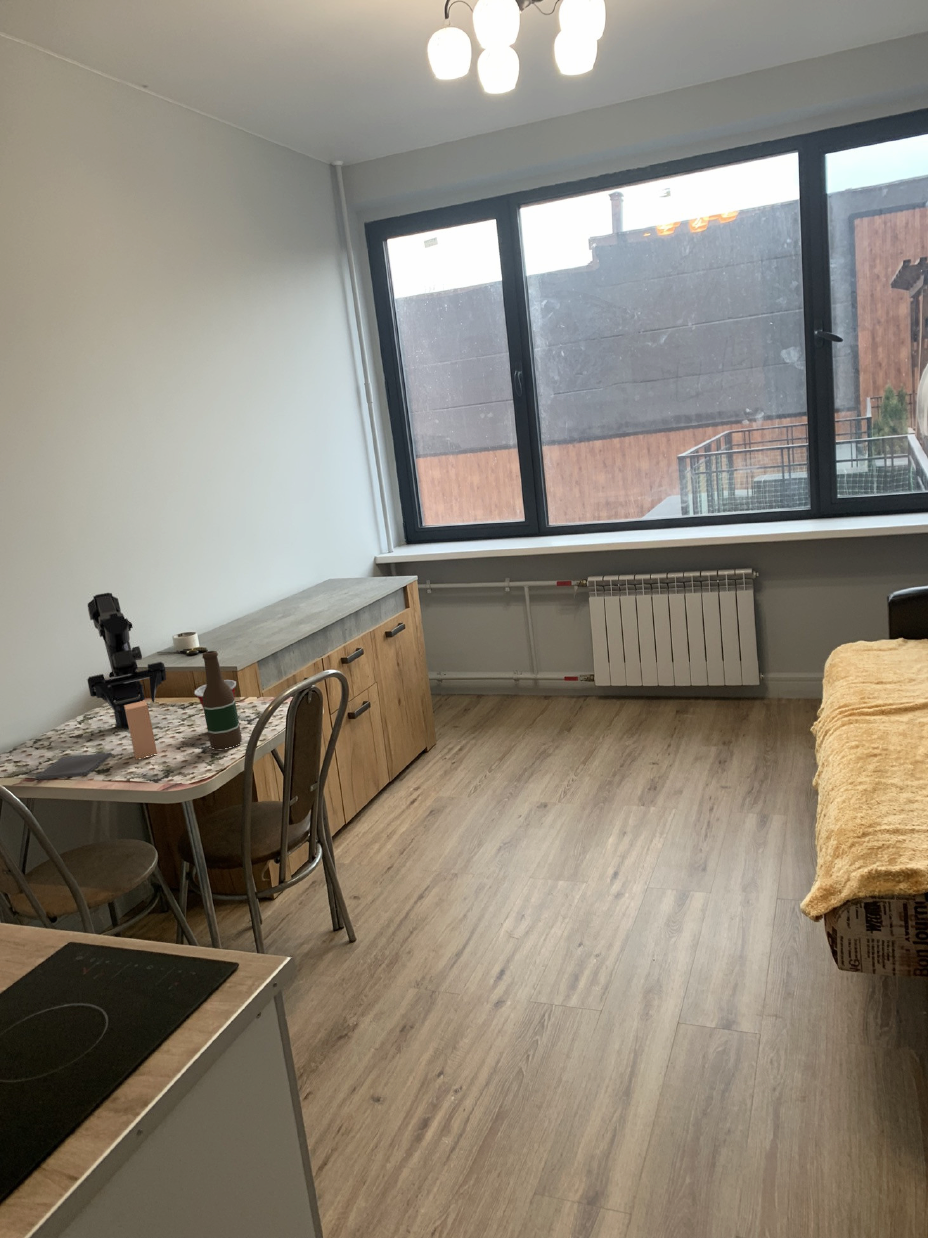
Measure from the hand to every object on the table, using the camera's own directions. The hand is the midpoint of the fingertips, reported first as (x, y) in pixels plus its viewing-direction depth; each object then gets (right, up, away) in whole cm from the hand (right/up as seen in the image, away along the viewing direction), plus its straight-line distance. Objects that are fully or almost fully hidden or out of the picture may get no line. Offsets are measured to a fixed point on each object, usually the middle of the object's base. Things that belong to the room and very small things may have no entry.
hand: (134, 706), depth 234 cm
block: (+4, -12, -2) cm, 13 cm away
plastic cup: (+20, -7, +10) cm, 23 cm away
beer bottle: (+24, -10, -3) cm, 26 cm away
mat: (-13, -15, -5) cm, 20 cm away
